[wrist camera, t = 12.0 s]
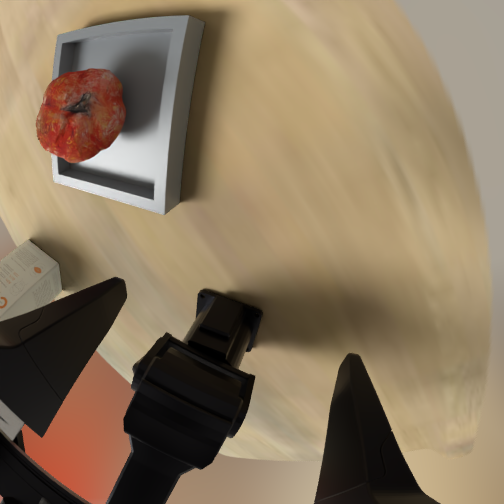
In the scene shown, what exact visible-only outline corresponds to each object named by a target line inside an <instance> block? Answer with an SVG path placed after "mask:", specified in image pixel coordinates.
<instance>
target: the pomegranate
mask: <svg viewBox="0 0 504 504" xmlns="http://www.w3.org/2000/svg"><path fill="white" fill-rule="evenodd" d="M122 94H123V86H122V84H121V82H120V81H119V79H118V78H117V77H116V76H115V75H114V74H113V73H112V72H111V71H110V70H107V69H95V68H89V69H87V70H83V71H76V72H67V73H64V74H62V75H61V76H59V77H57V78H56V79H54V80H53V81H52V82H51V83H50V84H49V85H48V87H47V89H46V91H45V94H44V97H43V103H42V105H41V108H40V111H39V114H38V116H37V120H36V127H37V137H38V140H39V141H40V144H41V145H42V146H43V148H44V149H45V150H46V151H49V152H51V153H52V154H53V155H56V156H58V157H61V158H64V159H65V160H66V161H68V162H69V163H78V162H83V161H85V160H89V159H90V158H92V157H94V156H96V155H97V154H98V153H99V152H100V151H102V150H105V149H107V148H109V147H110V146H111V144H112V143H113V142H114V141H115V139H116V138H117V137H118V135H119V133H120V131H121V129H122V127H123V125H124V122H125V117H126V108H125V105H124V103H123V99H122Z"/></svg>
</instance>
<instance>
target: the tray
mask: <svg viewBox="0 0 504 504" xmlns="http://www.w3.org/2000/svg"><path fill="white" fill-rule="evenodd" d="M204 25H205V22H204V21H201V20H199V19H197V18H194V17H192V16H189V15H183V16H163V17H151V18H141V19H133V20H125V21H119V22H112V23H107V24H101V25H96V26H92V27H87V28H83V29H79V30H75V31H71V32H67V33H63V34H60V35H58V36H57V42H56V49H55V57H54V66H53V76H52V81H53V80H54V79H56V78H57V77H59V76H61V75H62V74H64V73H67V72H76V71H83V70H87V69H89V68H95V69H107V70H110V71H111V72H112V73H113V74H114V75H115V76H116V77H117V78H118V79H119V81H120V82H121V84H122V86H123V94H122V99H123V103H124V105H125V108H126V117H125V122H124V125H123V127H122V129H121V131H120V133H119V135H118V137H117V138H116V139H115V141H114V142H113V143H112V144H111V146H110V147H109V148H107V149H105V150H102V151H100V152H99V153H98V154H97V155H96V156H94V157H92V158H90V159H89V160H85V161H83V162H78V163H69V162H68V161H66V160H65V159H64V158H61V157H58V156H56V155H53V154H52V153H51V154H52V169H53V181H54V182H55V183H59V184H62V185H66V186H69V187H72V188H76V189H79V190H83V191H86V192H89V193H93V194H96V195H99V196H103V197H106V198H109V199H113V200H116V201H119V202H123V203H126V204H129V205H133V206H136V207H139V208H143V209H146V210H149V211H152V212H156V213H159V214H162V215H165V214H166V213H168V212H169V211H170V210H171V209H173V208H174V207H175V206H176V205H178V204H179V203H180V191H181V179H182V169H183V159H184V150H185V141H186V133H187V125H188V117H189V110H190V103H191V96H192V90H193V84H194V78H195V72H196V66H197V60H198V55H199V50H200V45H201V40H202V35H203V30H204Z"/></svg>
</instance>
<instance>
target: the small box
mask: <svg viewBox="0 0 504 504" xmlns="http://www.w3.org/2000/svg"><path fill="white" fill-rule="evenodd" d="M61 291H62V285H61V277H60V269H59V263H58V262H56V261H55V260H54V259H52V258H51V257H50V256H48V255H47V254H46V253H44V252H43V251H42V250H41V249H40V248H38V247H37V246H36V245H35V244H33V243H32V242H31V241H30V240H29V239H28V240H27V241H25V242H24V243H23V244H21V245H20V246H19V247H17V248H16V249H15V250H13V251H12V252H11V253H9V254H8V255H7V256H6V257H4V258H3V259H2V260H1V261H0V321H3V320H6V319H9V318H12V317H16V316H19V315H21V314H24V313H27V312H30V311H32V310H35V309H37V308H40V307H42V306H45V305H47V304H49V303H50V302H51V301H52V300H53V299H54V298H55V297H56V296H57V295H58V294H59V293H60V292H61Z"/></svg>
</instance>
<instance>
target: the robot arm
mask: <svg viewBox="0 0 504 504" xmlns="http://www.w3.org/2000/svg"><path fill="white" fill-rule="evenodd" d="M202 294H203V295H204V296H203V295H202ZM126 299H127V291H126V284H125V281H124V280H123V279H121V278H118V277H113V278H111V279H108V280H106V281H103V282H101V283H98V284H96V285H93V286H91V287H88V288H86V289H83V290H81V291H79V292H76V293H74V294H71V295H69V296H66V297H64V298H61V299H59V300H57V301H54V302H52V303H49V304H47V305H45V306H42V307H40V308H37V309H35V310H32V311H30V312H27V313H24V314H21V315H19V316H16V317H12V318H9V319H6V320H3V321H0V495H1V496H2V497H3V500H2V501H1V503H0V504H91V503H89V502H88V501H86V500H85V499H83V498H82V497H80V496H79V495H77V494H76V493H74V492H73V491H72V490H70V489H69V488H67V487H66V486H64V485H63V484H62V483H61V482H59V481H58V480H56V479H55V478H54V477H53V476H51V475H50V474H49V473H48V472H47V471H45V470H44V469H43V468H42V467H40V466H39V465H38V464H37V463H36V462H35V461H34V460H32V459H31V458H30V457H29V456H28V455H27V454H26V453H25V448H24V442H23V436H22V430H21V429H22V427H23V426H24V424H26V425H27V426H28V427H29V428H31V429H32V430H33V431H34V432H35V433H37V434H38V435H39V436H40V437H41V438H42V437H43V436H44V434H45V433H46V431H47V429H48V427H49V425H50V423H51V422H52V420H53V418H54V417H55V415H56V413H57V411H58V410H59V408H60V406H61V405H62V403H63V401H64V399H65V398H66V396H67V394H68V393H69V391H70V389H71V388H72V386H73V384H74V383H75V381H76V380H77V378H78V377H79V375H80V373H81V372H82V370H83V369H84V367H85V365H86V364H87V363H88V361H89V359H90V358H91V356H92V355H93V353H94V352H95V350H96V349H97V347H98V346H99V344H100V343H101V341H102V340H103V338H104V337H105V335H106V334H107V333H108V331H109V329H110V328H111V326H112V324H113V323H114V321H115V319H116V317H117V315H118V313H119V312H120V310H121V308H122V306H123V304H124V303H125V301H126ZM256 313H257V314H256ZM258 314H259V315H258ZM262 315H263V312H262V311H261V310H260V309H257V308H254V307H252V306H249V305H246V304H243V303H240V302H237V301H234V300H231V299H228V298H225V297H222V296H220V295H217V294H214V293H211V292H208V291H205V290H200V292H199V293H198V298H197V311H196V320H195V321H194V323H193V325H192V326H191V328H190V330H189V331H188V333H187V335H186V336H185V338H184V340H183V341H180V340H178V339H176V338H175V337H173V336H172V335H171V334H169V333H167V332H166V333H165V335H164V336H163V337H162V338H161V337H160V338H159V339H158V340H157V341H156V343H155V344H154V345H153V347H152V348H151V349H150V350H149V351H148V352H147V354H146V355H145V356H144V357H142V358H141V359H140V360H139V361H137V362H136V363H135V364H134V366H133V368H132V370H133V373H134V377H133V381H132V385H131V389H132V390H134V391H135V394H134V396H133V398H132V400H131V402H130V405H129V407H128V409H127V411H126V415H125V417H124V419H123V420H124V432H125V433H127V434H129V439H130V444H131V453H130V455H129V457H128V459H127V461H126V463H125V465H124V467H123V469H122V471H121V473H120V476H119V477H118V480H117V481H116V484H115V486H114V488H113V490H112V492H111V494H110V496H109V498H108V500H107V502H106V504H165V503H166V501H167V500H168V498H169V496H170V494H171V492H172V490H173V489H174V487H175V485H176V483H177V481H178V479H179V478H180V476H181V475H182V474H184V473H186V472H188V471H190V470H192V469H194V468H198V469H200V470H201V469H203V468H205V467H206V466H208V465H209V464H211V463H212V462H213V460H214V458H215V457H216V455H217V454H218V452H219V450H220V448H221V446H222V445H223V443H224V441H225V439H226V437H229V438H233V437H234V436H235V434H236V433H237V432H238V430H239V429H240V427H241V425H242V423H243V421H244V419H245V416H246V414H247V411H248V408H249V404H250V399H251V395H252V390H253V386H254V381H255V376H254V375H252V374H248V373H245V372H243V371H241V370H239V366H240V364H241V361H242V359H243V356H244V353H245V352H250V351H251V349H252V346H253V343H254V340H255V337H256V334H257V331H258V328H259V324H260V321H261V318H262ZM391 430H392V429H391V427H390V424H389V422H388V419H387V417H386V414H385V412H384V410H383V407H382V405H381V403H380V400H379V398H378V396H377V393H376V391H375V389H374V386H373V384H372V382H371V379H370V377H369V375H368V373H367V370H366V368H365V366H364V364H363V362H362V359H361V357H360V356H359V355H358V354H354V353H348V354H347V356H346V357H345V359H344V361H343V362H342V364H341V365H340V367H339V371H338V375H337V380H336V384H335V389H334V393H333V397H332V401H331V406H330V413H329V420H328V428H327V435H326V442H325V448H324V454H323V460H322V466H321V471H320V477H319V482H318V487H317V492H316V497H315V501H314V502H315V503H314V504H440V503H438V502H437V501H435V500H434V499H432V498H431V497H429V496H428V495H426V494H425V493H424V492H423V491H422V490H421V488H420V487H419V486H418V484H417V482H416V480H415V478H414V476H413V474H412V472H411V470H410V468H409V466H408V464H407V463H406V461H405V459H404V457H403V455H402V453H401V450H400V448H399V446H398V444H397V441H396V439H395V436H394V434H393V432H392V431H391Z"/></svg>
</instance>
